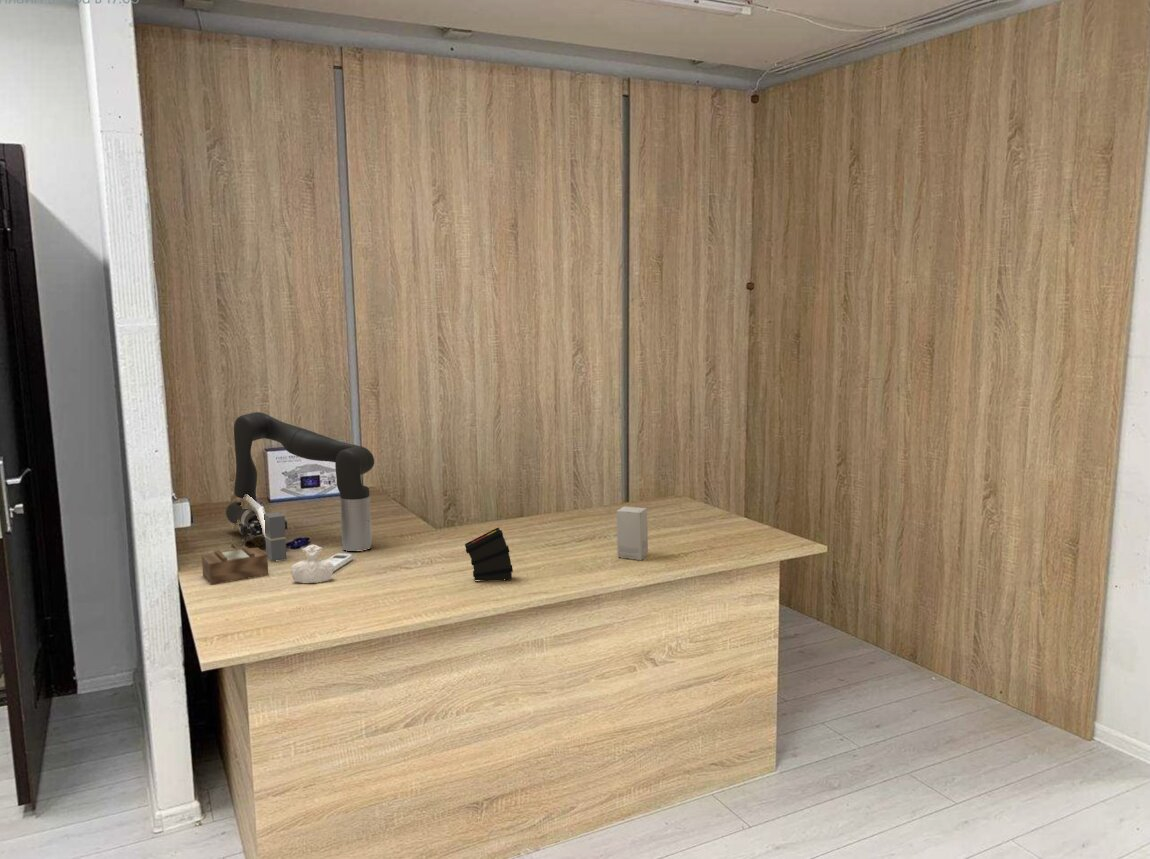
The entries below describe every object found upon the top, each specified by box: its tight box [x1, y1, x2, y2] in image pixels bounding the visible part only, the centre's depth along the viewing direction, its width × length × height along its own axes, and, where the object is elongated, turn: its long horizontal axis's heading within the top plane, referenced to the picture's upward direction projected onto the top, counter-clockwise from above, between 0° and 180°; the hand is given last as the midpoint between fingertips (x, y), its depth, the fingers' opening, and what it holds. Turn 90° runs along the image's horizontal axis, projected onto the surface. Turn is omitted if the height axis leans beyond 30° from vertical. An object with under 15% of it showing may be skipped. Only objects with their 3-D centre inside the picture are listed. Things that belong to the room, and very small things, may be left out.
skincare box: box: [616, 505, 649, 561], centre depth 275 cm, size 8×7×16 cm
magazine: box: [464, 527, 514, 581], centre depth 253 cm, size 4×13×15 cm, turn 98°
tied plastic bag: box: [290, 544, 335, 584], centre depth 253 cm, size 12×8×11 cm
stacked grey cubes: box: [264, 511, 287, 562], centre depth 274 cm, size 6×5×14 cm
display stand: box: [201, 545, 269, 585], centre depth 258 cm, size 16×10×7 cm, turn 125°
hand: (269, 531), depth 279 cm, fingers open, 8 cm apart
